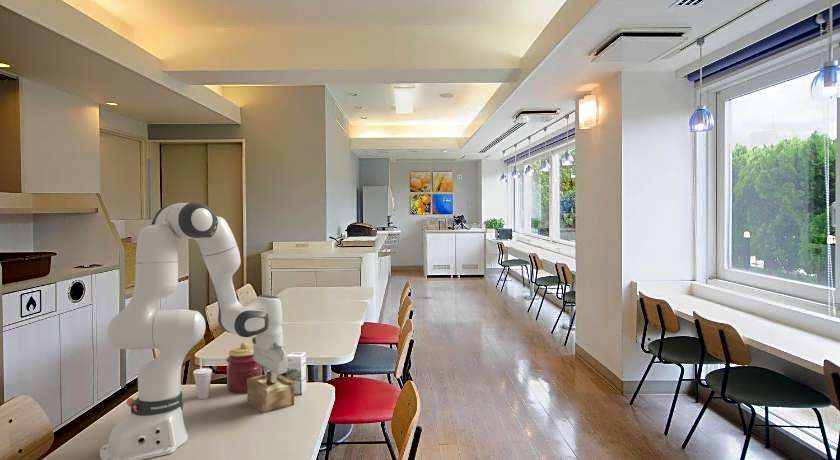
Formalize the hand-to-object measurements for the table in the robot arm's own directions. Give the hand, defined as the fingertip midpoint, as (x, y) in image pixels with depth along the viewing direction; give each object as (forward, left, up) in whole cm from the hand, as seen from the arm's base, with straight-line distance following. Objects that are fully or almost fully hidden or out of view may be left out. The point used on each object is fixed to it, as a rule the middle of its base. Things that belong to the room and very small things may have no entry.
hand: (270, 380), depth 180 cm
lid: (0, 0, -2) cm, 2 cm away
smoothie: (-16, +23, -8) cm, 29 cm away
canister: (-1, +22, -9) cm, 23 cm away
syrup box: (+12, +5, -8) cm, 15 cm away
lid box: (0, +1, -8) cm, 8 cm away
